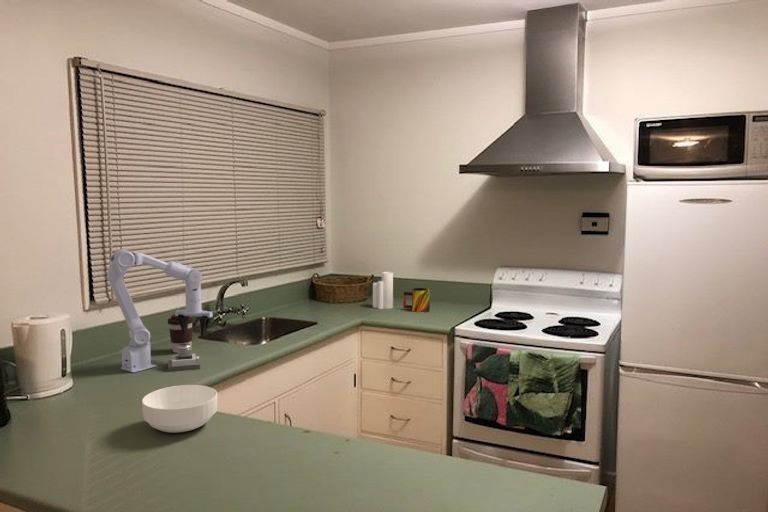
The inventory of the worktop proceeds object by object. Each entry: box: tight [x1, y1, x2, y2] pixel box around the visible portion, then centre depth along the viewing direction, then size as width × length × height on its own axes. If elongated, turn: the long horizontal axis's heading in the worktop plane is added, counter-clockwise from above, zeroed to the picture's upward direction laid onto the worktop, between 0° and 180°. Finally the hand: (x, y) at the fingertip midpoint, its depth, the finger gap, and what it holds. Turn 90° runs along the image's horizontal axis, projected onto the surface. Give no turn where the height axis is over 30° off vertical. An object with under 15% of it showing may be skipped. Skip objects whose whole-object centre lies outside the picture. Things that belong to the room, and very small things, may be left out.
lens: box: [177, 344, 192, 360], centre depth 217 cm, size 5×5×6 cm
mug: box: [402, 287, 431, 313], centre depth 322 cm, size 10×14×12 cm
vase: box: [372, 271, 394, 310], centre depth 330 cm, size 11×7×20 cm, turn 93°
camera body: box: [167, 353, 201, 373], centre depth 217 cm, size 11×9×4 cm
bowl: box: [141, 384, 218, 433], centre depth 162 cm, size 20×20×8 cm
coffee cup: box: [167, 313, 195, 354], centre depth 238 cm, size 10×10×15 cm
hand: (194, 334), depth 225 cm, fingers open, 7 cm apart
